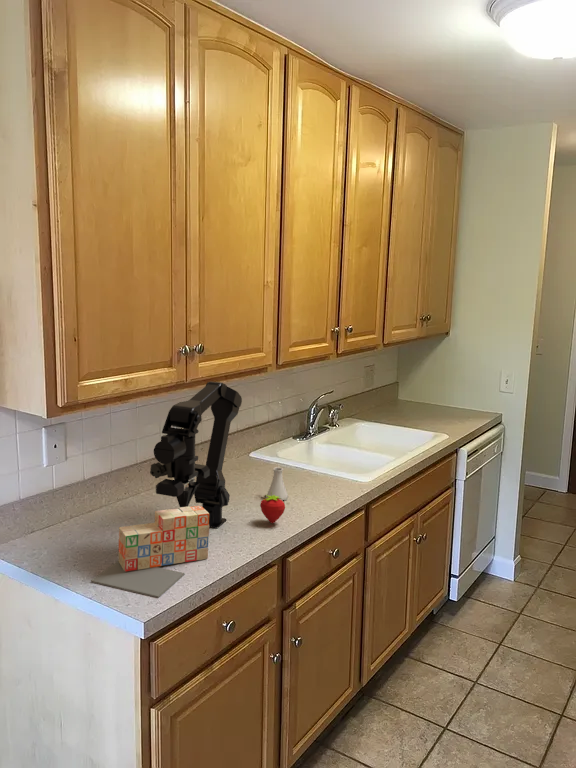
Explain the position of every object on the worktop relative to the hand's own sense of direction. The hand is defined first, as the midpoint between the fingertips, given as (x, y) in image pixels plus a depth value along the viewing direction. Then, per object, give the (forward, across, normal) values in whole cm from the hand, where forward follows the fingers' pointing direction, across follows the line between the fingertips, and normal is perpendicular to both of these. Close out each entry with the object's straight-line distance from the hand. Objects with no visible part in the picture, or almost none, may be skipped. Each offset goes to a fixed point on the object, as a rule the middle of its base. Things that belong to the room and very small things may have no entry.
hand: (183, 510), depth 169 cm
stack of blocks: (+10, +10, 0) cm, 14 cm away
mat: (+10, +20, -1) cm, 22 cm away
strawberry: (+10, -24, +16) cm, 31 cm away
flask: (+10, -44, +10) cm, 46 cm away
